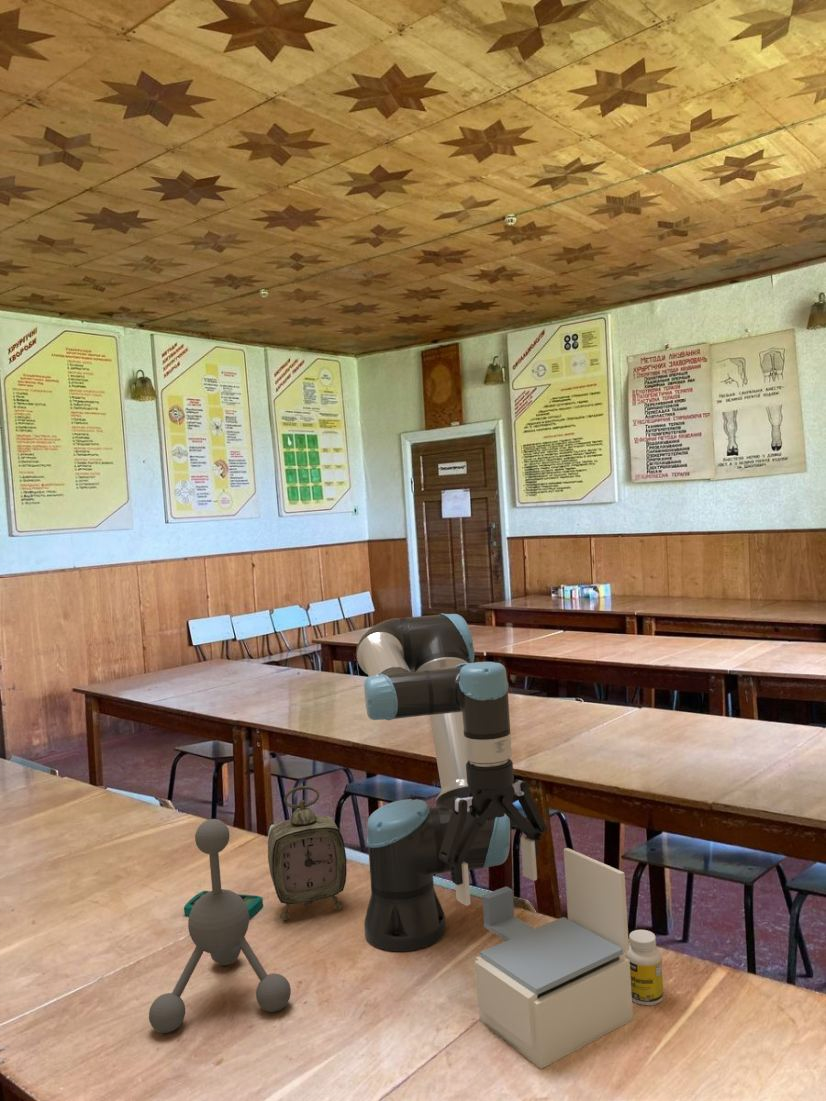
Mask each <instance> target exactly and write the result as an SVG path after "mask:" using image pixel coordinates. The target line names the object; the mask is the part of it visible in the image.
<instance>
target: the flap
mask: <svg viewBox="0 0 826 1101" xmlns="http://www.w3.org/2000/svg"><path fill="white" fill-rule="evenodd" d="M481 898H482V899H481V900H482V912H483V914H482V915H483V927H484V929H486V930H488V931H489V932H491V933H492V934H494V935H495V936H497V937H498V938H500V939H502V940H503V942H500V943H498V944H495V945H493V946H490V947H488V948H486V949H483V950H480V952H479V956H480V957H481V958H483V959H484V960H486V961H487V962H489V963H490V964H492V965H493V966H495V967H496V968H498V969H499V970H501V971H502V972H504V973H505V974H507V975H508V976H509V977H511V978H512V979H514V980H515V981H517V982H518V983H520V984H521V985H523V986H524V987H526V988H527V989H529V990H530V991H532V992H533V993H535V994H536V995H538V994H540V993H542V992H544V991H546V990H549V989H551V988H553V987H555V986H557V985H559V984H561V983H563V982H566V981H568V980H570V979H572V978H574V977H576V976H578V975H580V974H582V973H585V972H587V971H589V970H591V969H593V968H595V967H597V966H599V965H602V964H604V963H606V962H608V961H610V960H612V959H614V958H616V957H619V956H621V955H623V949H622V948H620V947H618V946H617V945H615V944H613V943H611V942H609V941H607V940H605V939H604V938H602V937H600V936H598V935H596V934H594V933H592V932H590V931H589V930H587V929H585V928H583V927H581V926H579V925H577V924H576V923H574V922H572V921H570V920H568V918H567V917H564V916H562V917H560V918H557V919H555V920H553V921H551V922H548V923H545V924H543V925H540V926H538V927H536V928H535V927H533V926H532V925H530V924H528V923H527V922H524V921H522V920H521V919H520V918H518V917H516V916H515V904H514V902H515V901H514V889H512V888H510V887H509V886H504V887H501V888H498V889H496V890H494V891H490V892H488V893H485V894H483V895H482V896H481Z"/></svg>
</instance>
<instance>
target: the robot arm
mask: <svg viewBox="0 0 826 1101" xmlns="http://www.w3.org/2000/svg"><path fill="white" fill-rule="evenodd" d="M473 642H474V640H473V636H472V633H471V629H470V627H469V625H468V623H467V621H466V620H465V617H463V616H462V615H460V614H457V613H442V612H441V613H439V614H433V615H422V616H410V617H409V616H408V617H396V618H394V617H393V618H389V619H386V620H384V621H381V622H379V623H377V624H375V625H374V626H372V627H371V628H369V629H368V630H367V631H366V632H365V633H363V635H362V636H361V637H360V640H359V641H358V643H357V646H356V660H357V663H358V665H359V667H360V669H361V670H362V671H363V672H364V674H366V675H368V676H367V677H366V678H365V680H364V685H363V687H364V688H363V689H364V702H365V708H366V714H367V717H368V718H369V719H370V720H373V721H378V720H379V721H382V720H385V721H392V720H398V719H406V718H413V717H421V716H422V717H423V716H429V721H430V728H431V733H432V740H433V745H434V751H435V758H436V764H437V770H438V774H439V775H438V776H439V781H440V787H441V791H440V793H439V794H438V795H437V797H436V798H435V807H430V806H429V805H428V803H427V802H426V801H425V800H422V799H412V798H406V799H400V800H396V801H392V802H389V803H386V804H384V805H381V806H380V807H379V808H378V809H376V810H374V811H373V812H372V813H371V814H370V816H369V817H368V820H367V822H366V823H367V824H366V829H367V832H366V834H367V836H366V837H367V838H366V846H367V847H368V859H369V860H368V862H369V875H370V898H369V901H368V905H367V909H366V913H365V914H366V915H365V917H364V924H363V925H364V926H363V927H364V936H365V937H364V938H365V939H366V940H367V942H368V943H369V944H370V945H372V946H373V947H376V948H378V949H381V950H384V951H392V952H411V951H416V950H419V949H424V948H426V947H430V946H431V945H433V944H435V943H436V942H439V941H440V939H442V938H443V937H444V935H445V934H446V931H447V924H446V923H447V921H446V920H447V919H446V915H445V911H444V909H443V907H442V904H441V902H440V899H439V897H438V894H437V892H436V889H435V887H434V883H435V882H434V875H438V874H447V873H450V879H451V882H452V883H453V884H455V894H456V901H457V902H459V903H461V904H462V905H464V906H466V907H468V906H470V905H471V893H470V892H471V890H470V879H469V871H470V870H478V869H482V870H486V868H490V867H495V866H496V867H497V866H501V865H503V864H504V863H505V862H506V860H507V859H508V857H509V852H510V847H511V846H510V845H511V821H512V823H513V824H514V825H515V826H516V827H517V828H518V829H519V830H520V831H521V832H522V833H523V834H524V835H525V836H521V837H520V849H521V864H522V866H521V867H522V876H523V877H525V878H527V879H528V880H531V881H533V882H535V881H537V880H538V871H537V859H536V858H538V857H539V845H538V844H539V843H538V841H542V839H543V834H544V833H546V832H547V830H548V826H547V825H546V823H545V820H544V819H543V817H542V815H541V813H540V810H539V809H538V808H537V807H538V806H537V805H536V803H535V801H534V800H533V797H532V796H531V793H530V785H529V783H528V782H526V781H525V780H521V779H517V778H516V779H514V778H515V777H514V764H513V760H511V758H512V756H513V749H512V735H511V721H510V702H509V701H510V700H509V688H510V687H509V686H510V685H509V682H508V677H507V671H506V670H507V669H506V667H505V666H504V665H503V664H502V663H500V662H495V661H477V662H474V661H475V646H474V644H473ZM514 796H516V798H517V800H518V802H519V805H520V806H521V808H522V810H523V812H524V815H525V816H526V817H527V819H528V820H527V819H526V818H525V817H524V815H523V814H521V811H519V809H518V808H517V807H516V805H514V804H513V803H512V801H513V798H514ZM542 833H543V834H542Z"/></svg>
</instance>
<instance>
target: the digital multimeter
mask: <svg viewBox="0 0 826 1101" xmlns="http://www.w3.org/2000/svg"><path fill="white" fill-rule="evenodd" d="M210 891H211V890H203V891H200V892H199V893H197V894H195V895H194V896H193V897H192V898H190V899H189V900H188V902H187V903H186V904H185V905H184V906H183V912H184V913H183V914H184V916H185V917H189V915H190V912H191V910H192V907H193V906H194V904H195V903H196V902H197V900H198V899H199V898H200V897H202V896H203V895H204V894H206V893H208V892H210ZM237 894H238V895H239V896H240V897H241V898H242V899H243V901H244V902H245V903H246V906H247V908H248V913H249V920H250V919H252V918H253V917H254V916H255V915H256V914H258V913H259V912H260V910H261V909H262V908H263V907H264V900H263V897H262V896H260V895H255V894H239V893H237Z"/></svg>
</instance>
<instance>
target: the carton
mask: <svg viewBox="0 0 826 1101" xmlns="http://www.w3.org/2000/svg"><path fill="white" fill-rule="evenodd" d="M563 858H564V859H563V860H564V874H565V892H566V908H567V909H566V910H567V919H568V920H570V921H572V922H574V923H576V924H577V925H579V926H581V927H583V928H585V929H587V930H589V931H590V932H592V933H594V934H596V935H598V936H600V937H602V938H604V939H605V940H607V941H609V942H611V943H613V944H615V945H617V946H618V947H620V948H622V949H623V955H621V956H619V957H616V958H614V959H612V960H610V961H608V962H606V963H604V964H602V965H599V966H597V967H595V968H593V969H591V970H589V971H587V972H585V973H582V974H580V975H578V976H576V977H574V978H572V979H570V980H568V981H566V982H563V983H561V984H559V985H557V986H555V987H553V988H551V989H549V990H546V991H544V992H542V993H540V994H538V995H536V994H535V993H533V992H532V991H530V990H529V989H527V988H526V987H524V986H523V985H521V984H520V983H518V982H517V981H515V980H514V979H512V978H511V977H509V976H508V975H507V974H505V973H504V972H502V971H501V970H499V969H498V968H496V967H495V966H493V965H492V964H490V963H489V962H487V961H486V960H484V959H483V958H481V957H480V955H478V956H476V957H475V960H474V973H475V988H476V1003H477V1004H476V1006H477V1008H478V1011H479V1012H478V1013H479V1022H480V1023H481V1024H482V1025H483V1026H485V1028H488V1029H489V1030H490V1031H491V1032H493V1033H494V1034H495V1035H497V1036H498V1037H499V1038H500V1039H502V1040H503V1041H504V1042H505V1043H506V1044H508V1045H510V1047H512V1048H513V1049H515V1050H516V1051H517V1052H518V1053H520V1055H522V1056H524V1057H525V1058H526V1059H527V1060H529V1061H530V1062H531V1063H532V1064H534V1066H537V1067H538V1068H539V1069H540V1070H542V1069H544V1068H545V1067H548V1066H549V1065H552V1064H553V1063H555V1062H557V1061H560V1060H561V1059H563V1058H565V1057H567V1056H568V1055H570V1054H572V1053H574V1052H576V1051H578V1050H580V1049H582V1048H584V1047H586V1046H587V1045H589V1044H591V1043H592V1042H594V1041H597V1040H598V1039H600V1038H602V1037H604V1036H606V1035H607V1034H610V1033H611V1032H613V1031H615V1030H617V1029H620V1028H621V1027H623V1026H624V1025H626V1024H628V1023H630V1022H632V1021H634V1015H633V1014H634V1012H633V1001H632V994H631V977H630V960H629V959H627V958H626V956H625V954H626V952H628V951H629V946H630V943H629V928H628V927H629V926H628V910H627V909H628V908H627V907H628V906H627V892H626V876H625V872H624V871H621V870H619V869H618V868H615V867H612V866H611V865H608V864H606V863H603V862H601V861H599V860H596V859H594V858H592V857H589V856H587V855H585V854H583V853H580V852H578V851H577V850H576V851H575V850H573V849H572V848H569V847H566V848H564V849H563Z"/></svg>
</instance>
